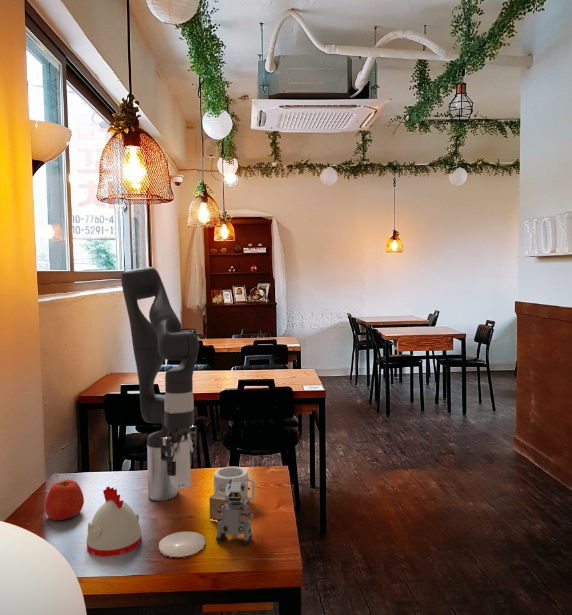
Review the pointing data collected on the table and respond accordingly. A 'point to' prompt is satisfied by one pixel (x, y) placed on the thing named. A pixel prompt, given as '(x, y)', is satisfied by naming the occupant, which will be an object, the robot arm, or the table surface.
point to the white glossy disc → (181, 544)
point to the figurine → (235, 512)
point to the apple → (64, 500)
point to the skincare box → (182, 466)
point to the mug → (229, 473)
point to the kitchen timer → (113, 527)
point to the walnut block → (216, 503)
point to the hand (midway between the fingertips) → (179, 470)
